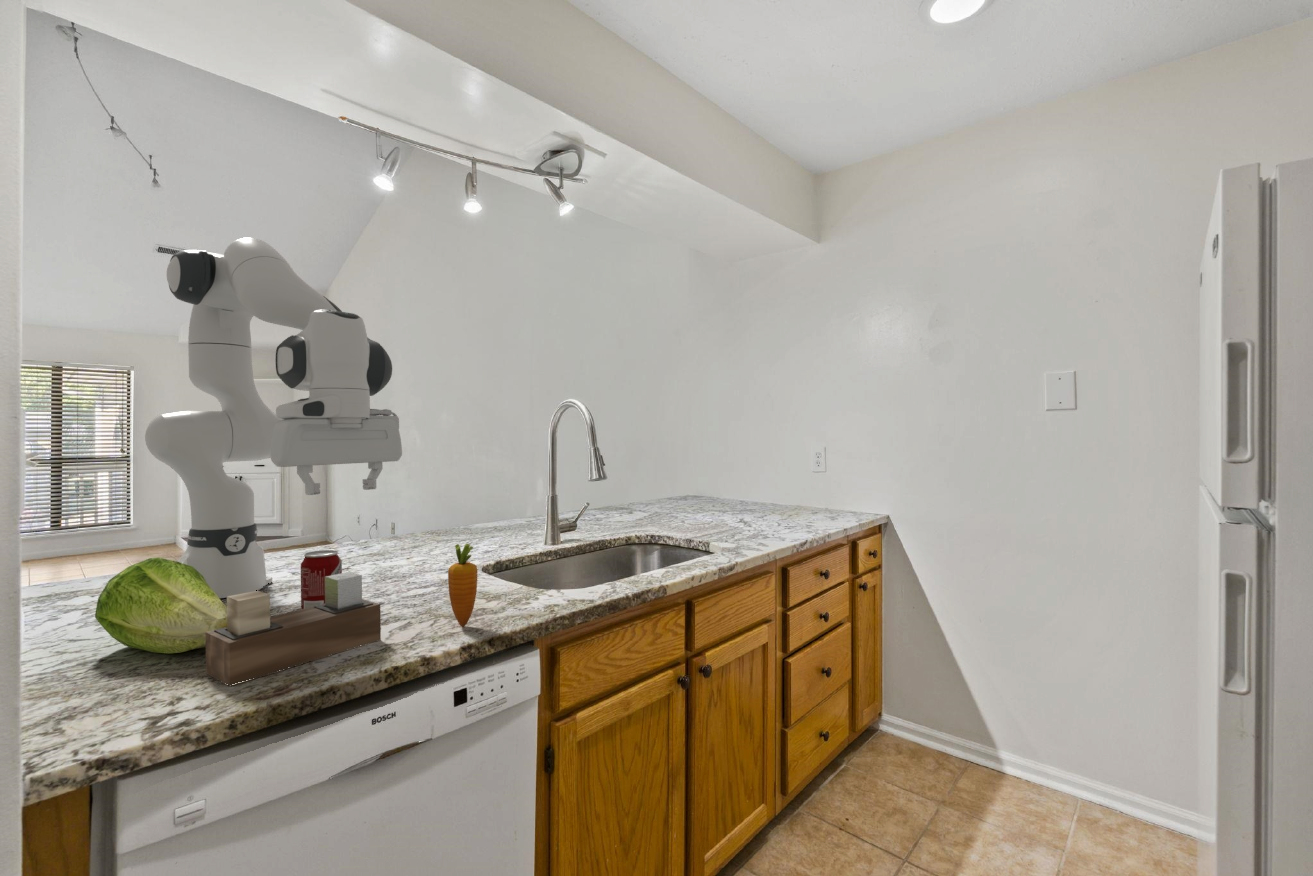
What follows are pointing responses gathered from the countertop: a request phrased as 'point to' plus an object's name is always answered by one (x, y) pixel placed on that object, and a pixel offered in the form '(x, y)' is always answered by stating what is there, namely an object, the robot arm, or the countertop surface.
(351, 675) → the countertop surface
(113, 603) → the lettuce
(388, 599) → the countertop surface
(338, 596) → the white block
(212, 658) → the walnut block
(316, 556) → the soda can
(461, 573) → the carrot
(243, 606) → the maple peg
